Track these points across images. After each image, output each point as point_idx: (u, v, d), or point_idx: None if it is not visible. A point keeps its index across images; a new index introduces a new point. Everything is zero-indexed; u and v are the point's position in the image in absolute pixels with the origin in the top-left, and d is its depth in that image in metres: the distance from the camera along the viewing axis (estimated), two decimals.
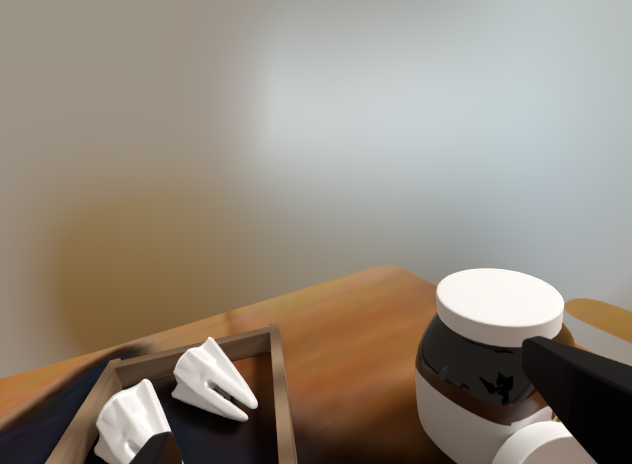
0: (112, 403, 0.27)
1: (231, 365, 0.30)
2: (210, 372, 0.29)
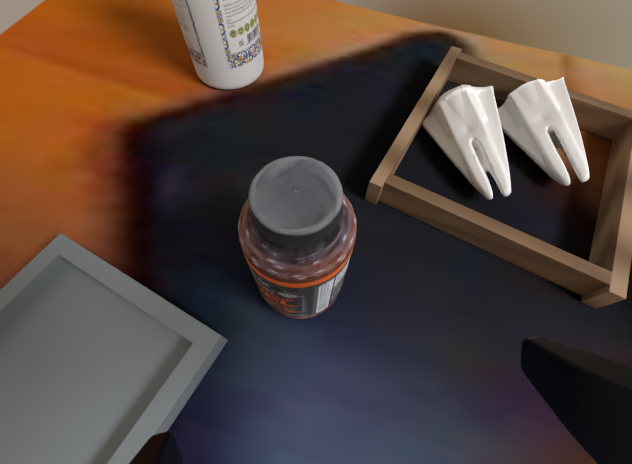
0: (461, 93, 0.28)
1: None
2: (558, 120, 0.26)
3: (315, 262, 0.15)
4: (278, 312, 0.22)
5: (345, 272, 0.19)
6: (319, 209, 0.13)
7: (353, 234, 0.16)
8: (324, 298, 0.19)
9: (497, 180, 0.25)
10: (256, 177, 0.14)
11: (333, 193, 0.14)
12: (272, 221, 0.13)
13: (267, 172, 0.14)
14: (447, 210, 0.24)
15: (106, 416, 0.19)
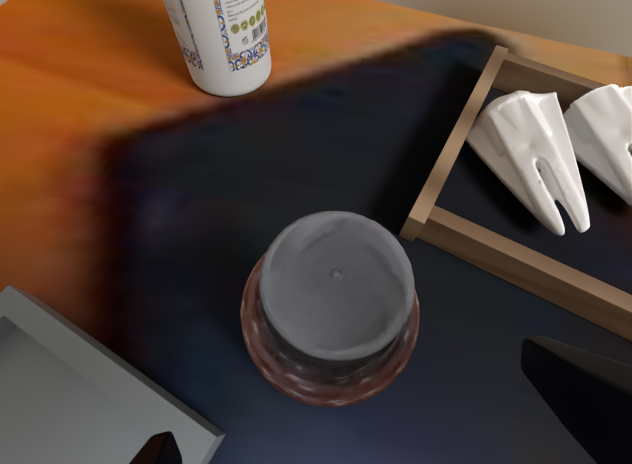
0: (518, 101, 0.22)
1: None
2: None
3: (363, 380, 0.09)
4: None
5: None
6: (378, 310, 0.08)
7: (417, 325, 0.10)
8: None
9: (572, 212, 0.20)
10: (271, 249, 0.09)
11: (399, 279, 0.08)
12: (300, 334, 0.08)
13: (289, 240, 0.09)
14: (511, 255, 0.18)
15: None
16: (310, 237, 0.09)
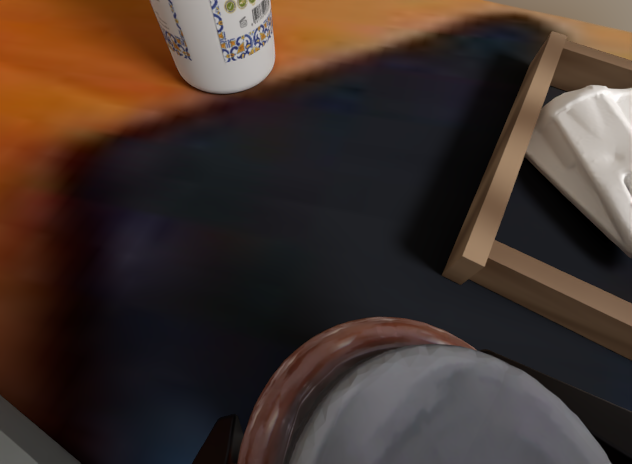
0: (594, 99, 0.17)
1: None
2: None
3: None
4: None
5: None
6: None
7: None
8: None
9: None
10: (302, 460, 0.04)
11: None
12: None
13: (343, 434, 0.04)
14: (606, 313, 0.13)
15: None
16: (391, 424, 0.04)
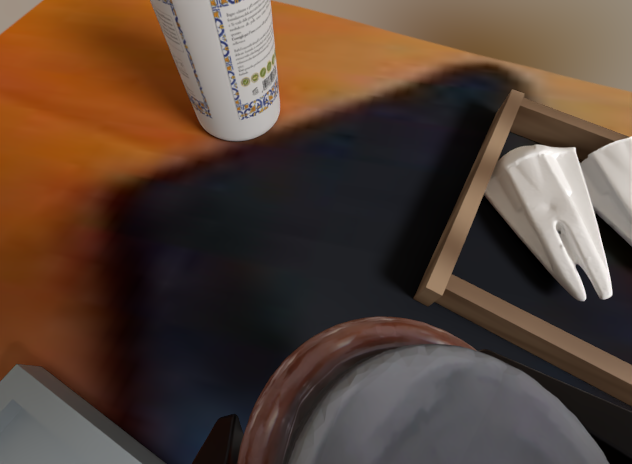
0: (537, 157, 0.22)
1: None
2: None
3: None
4: None
5: None
6: None
7: None
8: None
9: (594, 280, 0.19)
10: (302, 459, 0.04)
11: None
12: None
13: (342, 433, 0.04)
14: (531, 332, 0.18)
15: None
16: (390, 423, 0.04)
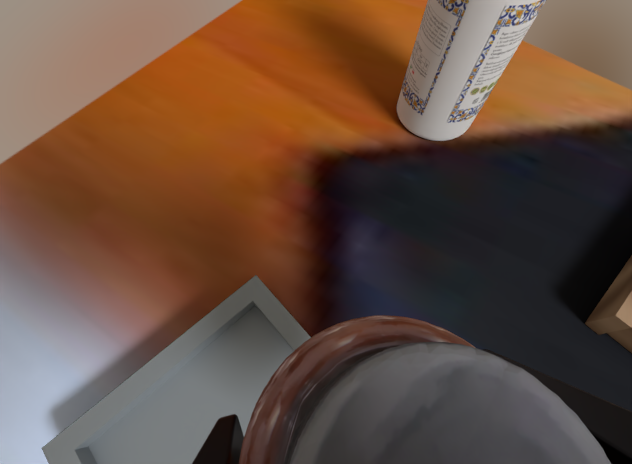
0: None
1: None
2: None
3: None
4: None
5: None
6: None
7: None
8: None
9: None
10: (304, 455, 0.04)
11: None
12: None
13: (344, 430, 0.04)
14: None
15: None
16: (391, 420, 0.04)
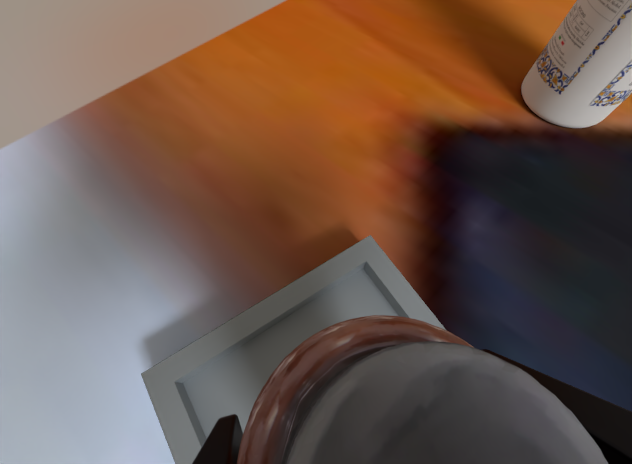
0: None
1: None
2: None
3: None
4: None
5: None
6: None
7: None
8: None
9: None
10: (301, 455, 0.04)
11: None
12: None
13: (341, 429, 0.04)
14: None
15: None
16: (389, 420, 0.04)
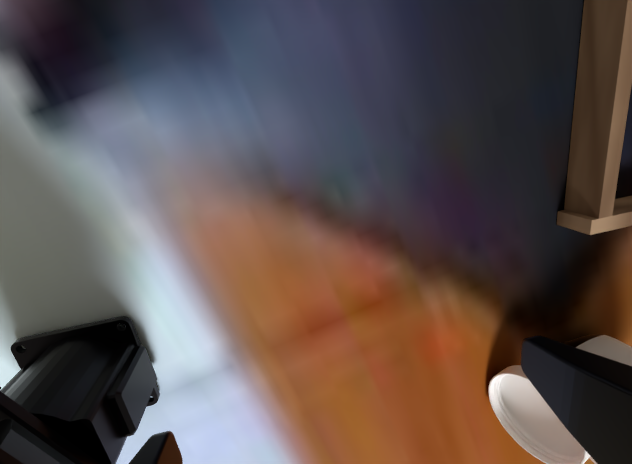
0: None
1: None
2: None
3: None
4: None
5: None
6: None
7: None
8: None
9: None
10: None
11: None
12: None
13: None
14: (625, 20, 0.17)
15: None
16: None
